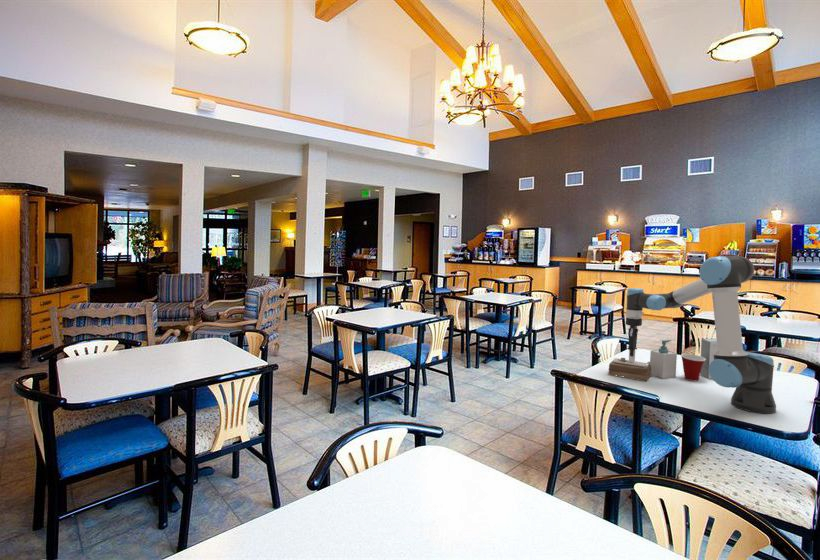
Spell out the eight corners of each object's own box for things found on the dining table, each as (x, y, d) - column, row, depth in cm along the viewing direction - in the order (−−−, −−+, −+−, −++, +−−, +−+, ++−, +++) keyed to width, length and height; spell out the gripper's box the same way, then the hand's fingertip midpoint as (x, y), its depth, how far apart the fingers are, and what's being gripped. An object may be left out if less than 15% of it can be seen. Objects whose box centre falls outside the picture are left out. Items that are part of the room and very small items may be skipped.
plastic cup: (700, 383, 216) (701, 360, 215) (676, 378, 225) (677, 355, 224) (707, 379, 223) (709, 356, 222) (684, 374, 231) (685, 352, 230)
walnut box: (647, 381, 220) (647, 364, 219) (608, 374, 231) (609, 358, 230) (651, 375, 230) (651, 359, 229) (613, 369, 241) (614, 354, 240)
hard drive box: (730, 375, 230) (732, 338, 228) (739, 380, 222) (742, 341, 221) (699, 374, 231) (701, 337, 230) (707, 379, 224) (709, 341, 222)
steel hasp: (647, 368, 222) (647, 365, 222) (612, 362, 232) (612, 360, 232) (649, 365, 227) (649, 363, 227) (615, 359, 237) (615, 357, 237)
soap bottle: (676, 377, 227) (677, 341, 226) (662, 378, 225) (664, 342, 223) (662, 372, 235) (664, 337, 234) (649, 373, 233) (650, 338, 231)
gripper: (639, 320, 220) (637, 365, 222) (644, 316, 230) (641, 360, 232) (623, 318, 224) (621, 363, 227) (628, 315, 235) (626, 357, 237)
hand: (631, 361), depth 230 cm, fingers closed
